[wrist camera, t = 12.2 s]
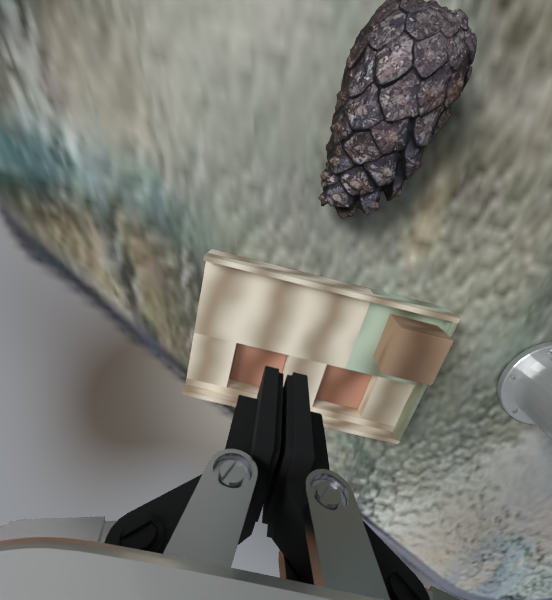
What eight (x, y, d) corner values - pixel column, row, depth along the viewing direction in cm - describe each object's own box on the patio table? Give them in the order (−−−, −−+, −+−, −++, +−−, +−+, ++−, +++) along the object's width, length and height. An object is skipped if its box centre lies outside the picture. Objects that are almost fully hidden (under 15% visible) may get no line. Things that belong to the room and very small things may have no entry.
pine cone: (306, 207, 36) (311, 215, 26) (352, 17, 30) (381, -62, 20) (393, 228, 36) (429, 242, 27) (457, 44, 30) (533, -22, 20)
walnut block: (437, 325, 38) (453, 340, 34) (418, 366, 40) (431, 385, 36) (390, 313, 37) (401, 327, 34) (373, 356, 39) (381, 373, 36)
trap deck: (446, 307, 39) (460, 318, 36) (390, 425, 45) (398, 444, 42) (211, 249, 38) (204, 255, 34) (189, 379, 44) (181, 394, 41)
